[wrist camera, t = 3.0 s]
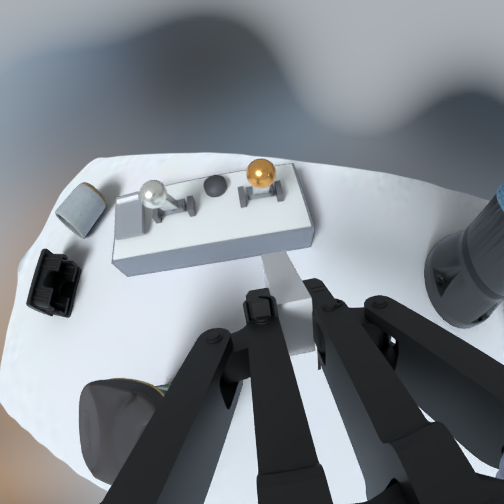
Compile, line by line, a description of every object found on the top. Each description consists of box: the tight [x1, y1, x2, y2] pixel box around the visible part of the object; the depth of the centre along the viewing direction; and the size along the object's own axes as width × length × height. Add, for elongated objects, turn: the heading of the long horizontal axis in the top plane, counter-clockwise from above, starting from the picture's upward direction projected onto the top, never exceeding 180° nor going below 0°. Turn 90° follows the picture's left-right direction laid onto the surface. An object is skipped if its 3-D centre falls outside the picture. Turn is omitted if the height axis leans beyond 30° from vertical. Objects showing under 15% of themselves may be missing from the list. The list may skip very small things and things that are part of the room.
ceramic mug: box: [55, 182, 106, 239], centre depth 42 cm, size 11×8×8 cm
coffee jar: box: [79, 378, 171, 485], centre depth 21 cm, size 10×8×19 cm
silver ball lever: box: [139, 180, 187, 216], centre depth 32 cm, size 3×4×10 cm
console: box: [112, 163, 315, 277], centre depth 39 cm, size 12×28×7 cm, turn 98°
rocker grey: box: [114, 191, 145, 240], centre depth 35 cm, size 6×4×1 cm
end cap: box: [26, 249, 81, 318], centre depth 36 cm, size 10×7×7 cm
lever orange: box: [246, 159, 276, 200], centre depth 32 cm, size 3×4×10 cm
